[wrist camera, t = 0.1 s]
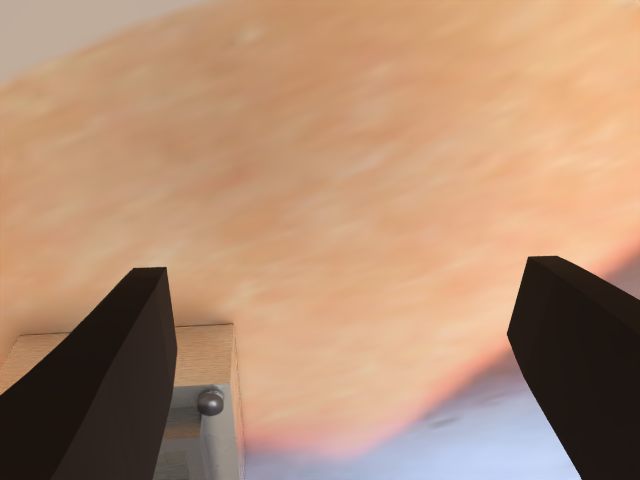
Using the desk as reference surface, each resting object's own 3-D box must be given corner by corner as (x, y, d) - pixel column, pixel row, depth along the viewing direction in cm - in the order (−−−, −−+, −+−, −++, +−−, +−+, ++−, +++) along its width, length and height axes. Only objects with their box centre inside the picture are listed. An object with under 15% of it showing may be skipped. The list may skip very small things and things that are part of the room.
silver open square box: (245, 456, 28) (243, 552, 24) (67, 470, 27) (33, 572, 23) (233, 324, 23) (228, 414, 19) (19, 335, 23) (-36, 432, 18)
